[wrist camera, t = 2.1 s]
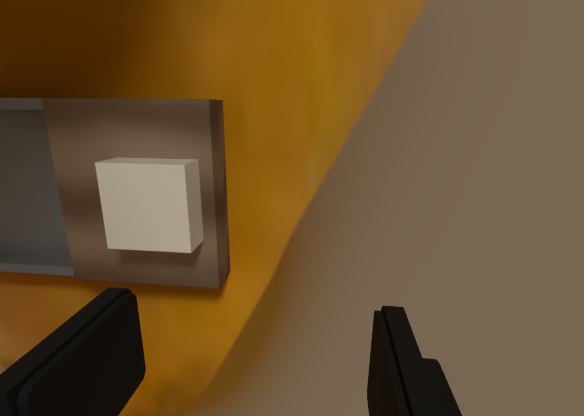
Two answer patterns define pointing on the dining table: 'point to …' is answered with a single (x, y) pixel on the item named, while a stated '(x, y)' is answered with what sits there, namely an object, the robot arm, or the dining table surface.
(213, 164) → the brown sliding lid
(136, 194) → the tile
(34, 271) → the box
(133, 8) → the dining table surface
